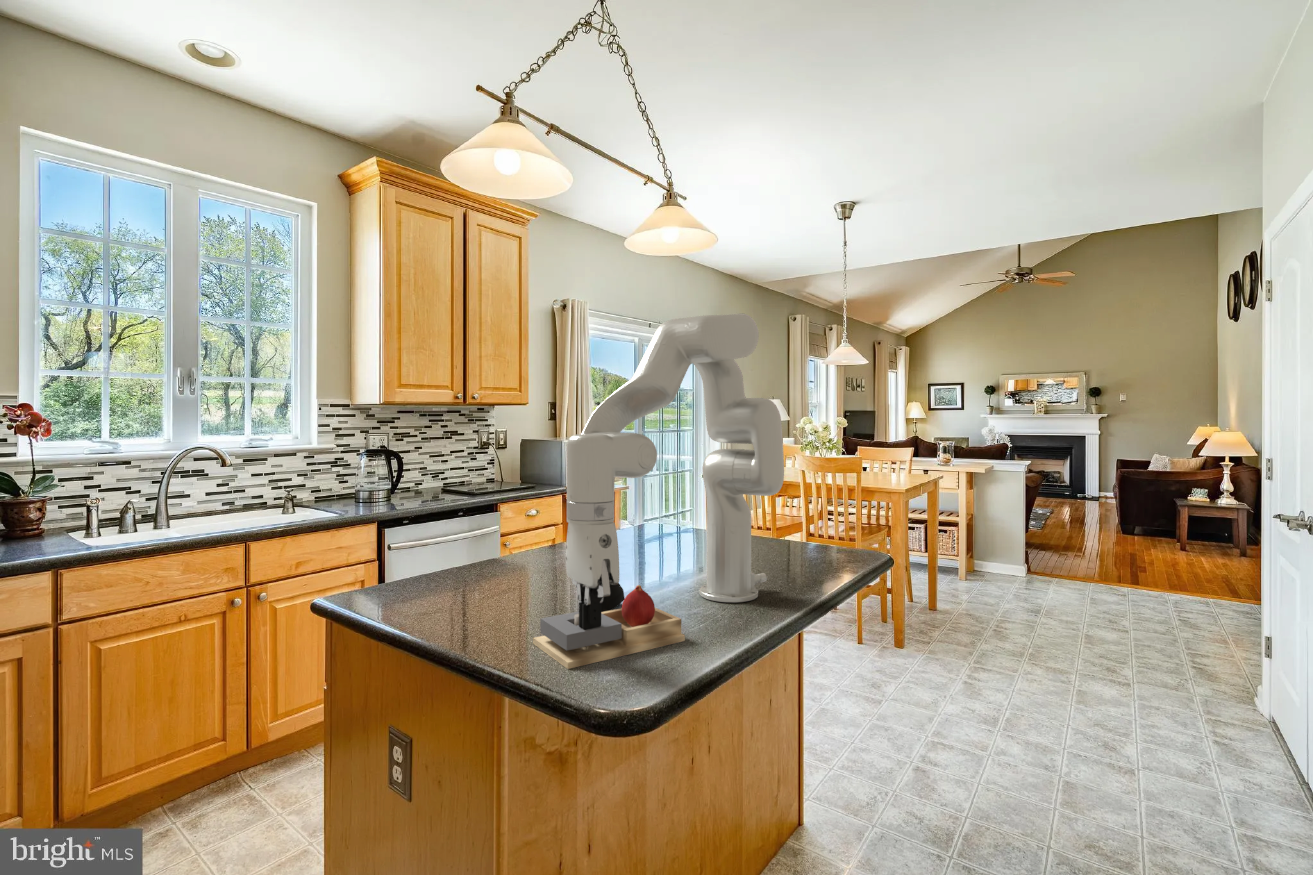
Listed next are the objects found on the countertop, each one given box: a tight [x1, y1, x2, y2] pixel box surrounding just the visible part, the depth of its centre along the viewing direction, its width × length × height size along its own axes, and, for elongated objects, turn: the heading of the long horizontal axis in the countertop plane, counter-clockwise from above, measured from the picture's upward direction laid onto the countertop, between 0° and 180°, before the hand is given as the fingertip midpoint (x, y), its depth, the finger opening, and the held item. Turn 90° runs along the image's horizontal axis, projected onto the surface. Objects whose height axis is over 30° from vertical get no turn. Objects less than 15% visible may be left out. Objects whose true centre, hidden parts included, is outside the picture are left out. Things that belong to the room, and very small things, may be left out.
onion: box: [621, 584, 656, 627], centre depth 108 cm, size 6×6×8 cm
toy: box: [597, 582, 625, 612], centre depth 123 cm, size 12×7×15 cm, turn 168°
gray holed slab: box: [539, 610, 622, 651], centre depth 102 cm, size 10×10×2 cm
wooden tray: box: [532, 607, 686, 670], centre depth 105 cm, size 22×13×6 cm, turn 124°
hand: (590, 626), depth 99 cm, fingers closed
